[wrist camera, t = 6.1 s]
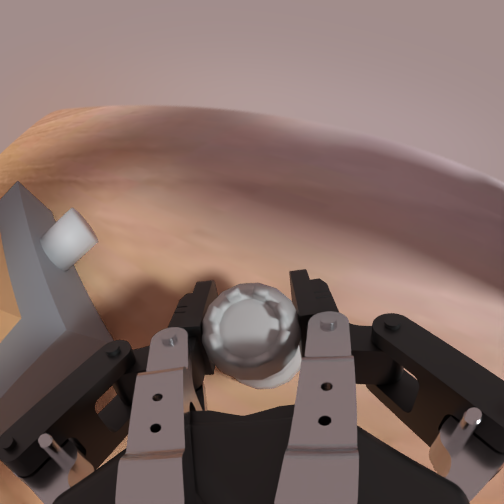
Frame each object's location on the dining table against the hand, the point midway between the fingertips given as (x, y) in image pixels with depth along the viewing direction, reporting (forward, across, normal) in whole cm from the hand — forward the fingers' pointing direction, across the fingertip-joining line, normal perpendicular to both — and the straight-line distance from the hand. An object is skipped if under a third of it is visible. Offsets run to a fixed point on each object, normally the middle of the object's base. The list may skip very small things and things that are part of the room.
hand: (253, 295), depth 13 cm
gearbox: (+4, +18, +2) cm, 18 cm away
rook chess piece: (+2, 0, +4) cm, 5 cm away
